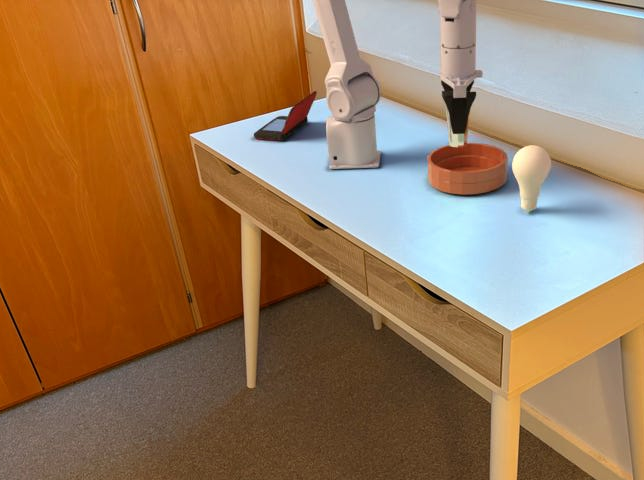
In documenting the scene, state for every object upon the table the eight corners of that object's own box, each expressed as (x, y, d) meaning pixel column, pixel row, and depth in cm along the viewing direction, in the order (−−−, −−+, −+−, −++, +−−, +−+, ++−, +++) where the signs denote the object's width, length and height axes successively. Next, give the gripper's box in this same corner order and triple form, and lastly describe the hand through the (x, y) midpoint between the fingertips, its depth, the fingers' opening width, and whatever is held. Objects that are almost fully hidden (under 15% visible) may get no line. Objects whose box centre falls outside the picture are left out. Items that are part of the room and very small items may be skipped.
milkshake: (471, 138, 129) (472, 80, 123) (470, 149, 124) (471, 90, 119) (446, 138, 129) (445, 81, 123) (444, 149, 125) (443, 90, 119)
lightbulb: (550, 205, 121) (555, 141, 115) (543, 220, 117) (548, 155, 110) (514, 201, 123) (517, 138, 116) (506, 217, 118) (509, 152, 112)
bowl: (428, 198, 126) (427, 173, 123) (427, 167, 137) (427, 144, 134) (510, 195, 125) (511, 170, 122) (502, 164, 136) (503, 141, 134)
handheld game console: (279, 120, 164) (274, 86, 159) (322, 123, 160) (318, 89, 156) (251, 139, 154) (245, 104, 150) (296, 143, 151) (292, 107, 147)
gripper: (485, 54, 111) (484, 141, 119) (480, 33, 123) (478, 113, 131) (440, 57, 111) (441, 143, 119) (438, 34, 123) (439, 114, 131)
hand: (458, 127), depth 125 cm, fingers closed on milkshake, 5 cm apart
